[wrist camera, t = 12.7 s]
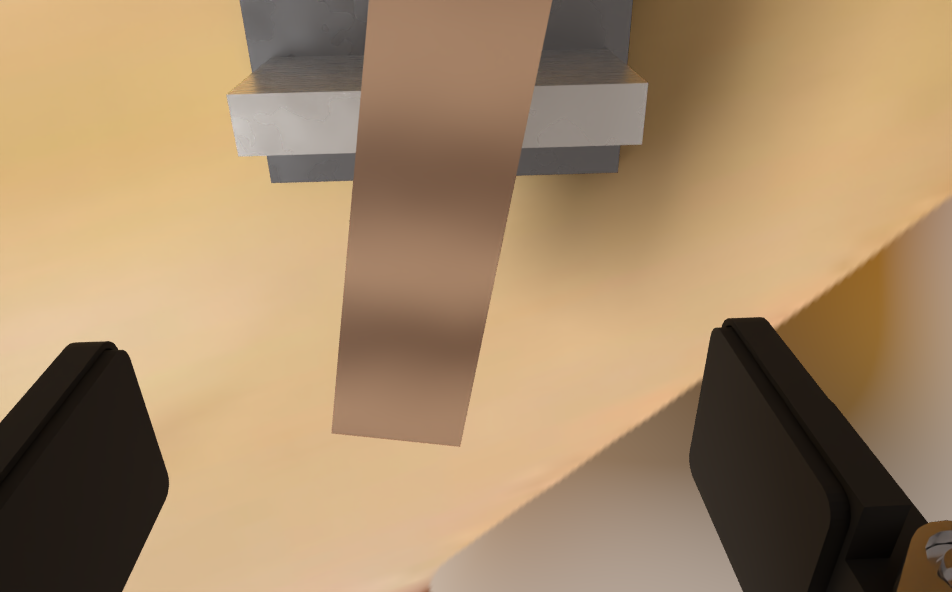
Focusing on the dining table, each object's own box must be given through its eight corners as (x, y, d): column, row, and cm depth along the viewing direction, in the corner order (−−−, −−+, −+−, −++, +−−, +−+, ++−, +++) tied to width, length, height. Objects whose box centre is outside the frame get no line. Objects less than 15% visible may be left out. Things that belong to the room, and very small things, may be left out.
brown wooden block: (407, -247, 21) (394, -300, 16) (565, -212, 21) (604, -252, 16) (350, 346, 31) (331, 433, 26) (457, 359, 32) (459, 446, 27)
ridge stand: (240, -33, 31) (175, -16, 24) (631, -42, 32) (687, -28, 24) (275, 176, 36) (231, 244, 29) (613, 166, 37) (656, 230, 29)
